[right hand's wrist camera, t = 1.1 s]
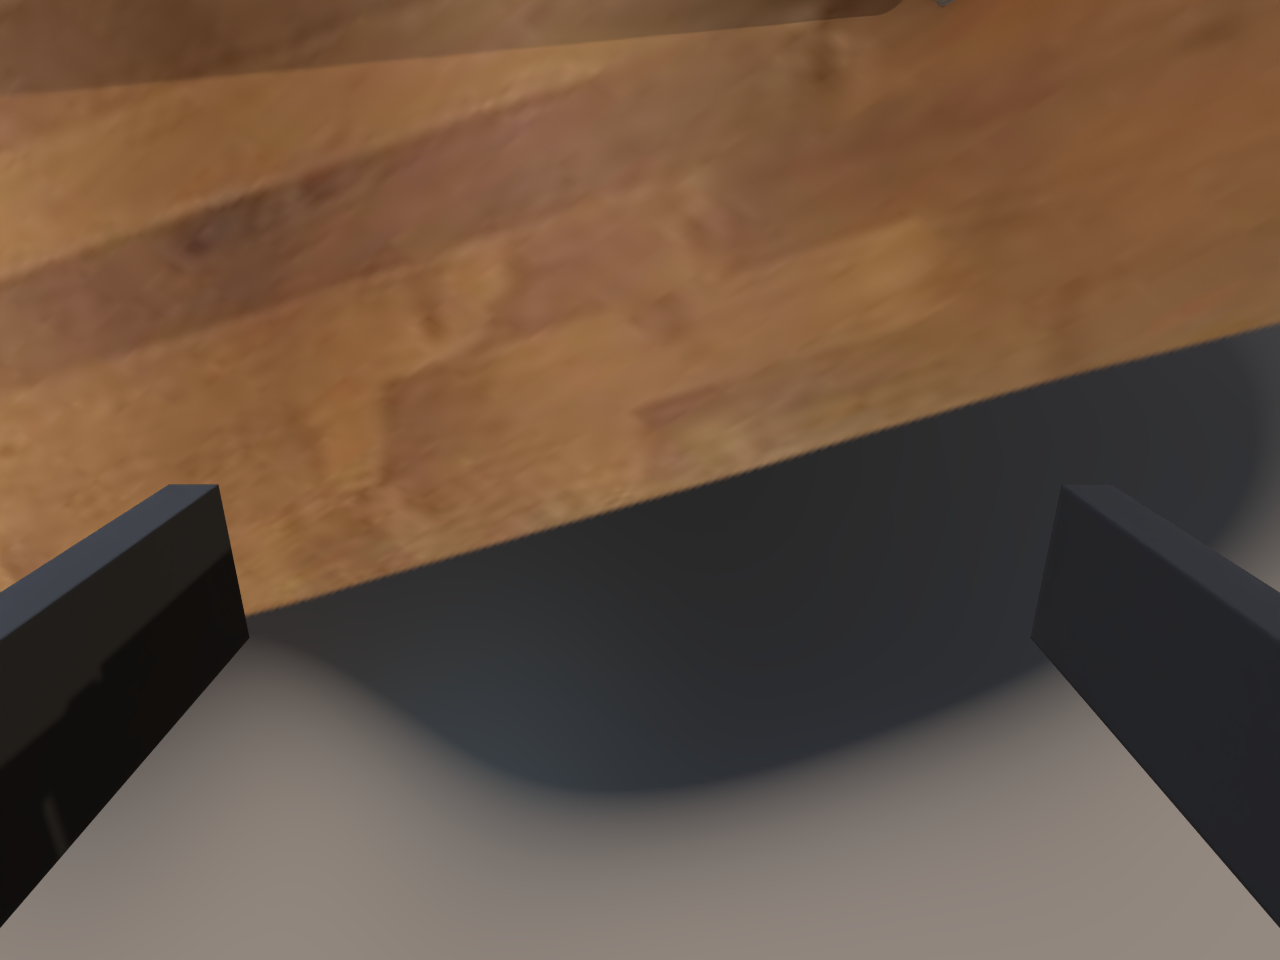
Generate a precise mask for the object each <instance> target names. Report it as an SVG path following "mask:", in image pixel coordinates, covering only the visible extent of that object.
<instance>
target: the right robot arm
mask: <svg viewBox="0 0 1280 960" xmlns="http://www.w3.org/2000/svg"><path fill="white" fill-rule="evenodd" d="M248 639H249V634H248V629H247V624H246V619H245V614H244V609H243V604H242V599H241V594H240V589H239V584H238V579H237V574H236V569H235V564H234V560H233V555H232V550H231V545H230V540H229V535H228V530H227V525H226V520H225V515H224V510H223V505H222V500H221V495H220V490H219V486H218V485H168V486H166V487H165V488H163V489H161V490H160V491H158V492H157V493H155V494H154V495H152V496H150V497H149V498H147V499H146V500H144V501H143V502H141V503H140V504H138V505H136V506H135V507H133V508H132V509H130V510H129V511H127V512H125V513H124V514H122V515H121V516H119V517H118V518H116V519H115V520H113V521H111V522H110V523H108V524H107V525H105V526H104V527H102V528H100V529H99V530H97V531H96V532H94V533H93V534H91V535H90V536H88V537H86V538H85V539H83V540H82V541H80V542H79V543H77V544H75V545H74V546H72V547H71V548H69V549H68V550H66V551H65V552H63V553H61V554H60V555H58V556H57V557H55V558H54V559H52V560H51V561H49V562H47V563H46V564H44V565H43V566H41V567H40V568H38V569H36V570H35V571H33V572H32V573H30V574H29V575H27V576H26V577H24V578H22V579H21V580H19V581H18V582H16V583H15V584H13V585H11V586H10V587H8V588H7V589H5V590H4V591H2V592H1V593H0V927H1V926H2V925H3V924H4V923H5V922H6V920H7V919H8V918H9V917H10V916H11V915H12V913H13V912H14V911H15V910H16V909H17V908H18V907H19V905H20V904H21V903H22V902H23V901H24V900H25V898H26V897H27V896H28V895H29V894H30V892H31V891H32V890H33V889H34V888H35V887H36V886H37V884H38V883H39V882H40V881H41V880H42V879H43V877H44V876H45V875H46V874H47V873H48V872H49V870H50V869H51V868H52V867H53V866H54V865H55V863H56V862H57V861H58V860H59V859H60V858H61V856H62V855H63V854H64V853H65V852H66V851H67V849H68V848H69V847H70V846H71V845H72V844H73V842H74V841H75V840H76V839H77V838H78V837H79V835H80V834H81V833H82V832H83V831H84V830H85V829H86V827H87V826H88V825H89V824H90V823H91V822H92V820H93V819H94V818H95V817H96V816H97V815H98V813H99V812H100V811H101V810H102V809H103V808H104V806H105V805H106V804H107V803H108V802H109V801H110V799H111V798H112V797H113V796H114V795H115V794H116V792H117V791H118V790H119V789H120V788H121V787H122V785H123V784H124V783H125V782H126V781H127V780H128V778H129V777H130V776H131V775H132V774H133V773H134V771H135V770H136V769H137V768H138V767H139V766H140V764H141V763H142V762H143V761H144V760H145V759H146V757H147V756H148V755H149V754H150V753H151V752H152V750H153V749H154V748H155V747H156V746H157V745H158V744H159V742H160V741H161V740H162V739H163V738H164V736H165V735H166V734H167V733H168V732H169V731H170V730H171V728H172V727H173V726H174V725H175V724H176V723H177V721H178V720H179V719H180V718H181V717H182V716H183V714H184V713H185V712H186V711H187V710H188V709H189V707H190V706H191V705H192V704H193V703H194V702H195V700H196V699H197V698H198V697H199V696H200V695H201V693H202V692H203V691H204V690H205V689H206V688H207V686H208V685H209V684H210V683H211V682H212V681H213V679H214V678H215V677H216V676H217V675H218V674H219V673H220V671H221V670H222V669H223V668H224V667H225V666H226V664H227V663H228V662H229V661H230V660H231V658H232V657H233V656H234V655H235V654H236V653H237V652H238V650H239V649H240V648H241V647H242V646H243V644H244V643H245V642H246V641H247V640H248ZM1031 639H1032V640H1033V641H1034V642H1035V643H1036V645H1037V646H1038V647H1039V648H1040V649H1041V650H1042V652H1043V653H1044V654H1045V655H1046V656H1047V657H1048V658H1049V660H1050V661H1051V662H1052V663H1053V664H1054V666H1055V667H1056V668H1057V669H1058V670H1059V671H1060V672H1061V674H1062V675H1063V676H1064V677H1065V678H1066V680H1067V681H1068V682H1069V683H1070V684H1071V685H1072V686H1073V688H1074V689H1075V690H1076V691H1077V692H1078V693H1079V695H1080V696H1081V697H1082V698H1083V699H1084V700H1085V702H1086V703H1087V704H1088V705H1089V706H1090V707H1091V709H1092V710H1093V711H1094V712H1095V713H1096V714H1097V716H1098V717H1099V718H1100V719H1101V720H1102V721H1103V723H1104V724H1105V725H1106V726H1107V727H1108V728H1109V730H1110V731H1111V732H1112V733H1113V734H1114V735H1115V737H1116V738H1117V739H1118V740H1119V741H1120V742H1121V743H1122V745H1123V746H1124V747H1125V748H1126V749H1127V751H1128V752H1129V753H1130V754H1131V755H1132V756H1133V758H1134V759H1135V760H1136V761H1137V762H1138V763H1139V765H1140V766H1141V767H1142V768H1143V769H1144V770H1145V771H1146V773H1147V774H1148V775H1149V776H1150V777H1151V778H1152V780H1153V781H1154V782H1155V783H1156V784H1157V785H1158V787H1159V788H1160V789H1161V790H1162V791H1163V792H1164V794H1165V795H1166V796H1167V797H1168V798H1169V799H1170V801H1171V802H1172V803H1173V804H1174V805H1175V806H1176V808H1177V809H1178V810H1179V811H1180V812H1181V813H1182V815H1183V816H1184V817H1185V818H1186V819H1187V820H1188V821H1189V823H1190V824H1191V825H1192V826H1193V827H1194V829H1195V830H1196V831H1197V832H1198V833H1199V834H1200V835H1201V837H1202V838H1203V839H1204V840H1205V841H1206V843H1207V844H1208V845H1209V846H1210V847H1211V848H1212V849H1213V851H1214V852H1215V853H1216V854H1217V855H1218V856H1219V858H1220V859H1221V860H1222V861H1223V862H1224V863H1225V865H1226V866H1227V867H1228V868H1229V869H1230V870H1231V872H1232V873H1233V874H1234V875H1235V876H1236V877H1237V879H1238V880H1239V881H1240V882H1241V883H1242V884H1243V886H1244V887H1245V888H1246V889H1247V890H1248V891H1249V893H1250V894H1251V895H1252V896H1253V897H1254V898H1255V900H1256V901H1257V902H1258V903H1259V904H1260V905H1261V907H1262V908H1263V909H1264V910H1265V911H1266V912H1267V914H1268V915H1269V916H1270V917H1271V918H1272V919H1273V921H1274V922H1275V923H1276V924H1277V925H1278V926H1279V927H1280V593H1279V592H1278V591H1276V590H1275V589H1273V588H1272V587H1270V586H1268V585H1267V584H1265V583H1264V582H1262V581H1261V580H1259V579H1258V578H1256V577H1254V576H1253V575H1251V574H1250V573H1248V572H1247V571H1245V570H1244V569H1242V568H1240V567H1239V566H1237V565H1236V564H1234V563H1233V562H1231V561H1229V560H1228V559H1226V558H1225V557H1223V556H1222V555H1220V554H1219V553H1217V552H1215V551H1214V550H1212V549H1211V548H1209V547H1208V546H1206V545H1204V544H1203V543H1201V542H1200V541H1198V540H1197V539H1195V538H1193V537H1192V536H1190V535H1189V534H1187V533H1186V532H1184V531H1183V530H1181V529H1180V528H1178V527H1176V526H1175V525H1173V524H1172V523H1170V522H1169V521H1167V520H1165V519H1164V518H1162V517H1161V516H1159V515H1158V514H1156V513H1155V512H1153V511H1151V510H1150V509H1148V508H1147V507H1145V506H1144V505H1142V504H1140V503H1139V502H1137V501H1136V500H1134V499H1133V498H1131V497H1130V496H1128V495H1126V494H1125V493H1123V492H1122V491H1120V490H1119V489H1117V488H1115V487H1114V486H1112V485H1062V486H1061V490H1060V496H1059V500H1058V505H1057V510H1056V515H1055V520H1054V525H1053V530H1052V535H1051V540H1050V545H1049V550H1048V555H1047V560H1046V565H1045V569H1044V574H1043V579H1042V584H1041V589H1040V594H1039V599H1038V604H1037V609H1036V614H1035V619H1034V624H1033V629H1032V634H1031Z"/></svg>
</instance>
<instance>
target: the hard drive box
mask: <svg viewBox="0 0 1280 960" xmlns="http://www.w3.org/2000/svg"><path fill="white" fill-rule="evenodd" d="M935 1H936V2H937V4H938V5H939V6H942V7H943V6H945V5H947V4H949V3H951V2H953V1H955V0H935Z"/></svg>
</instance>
